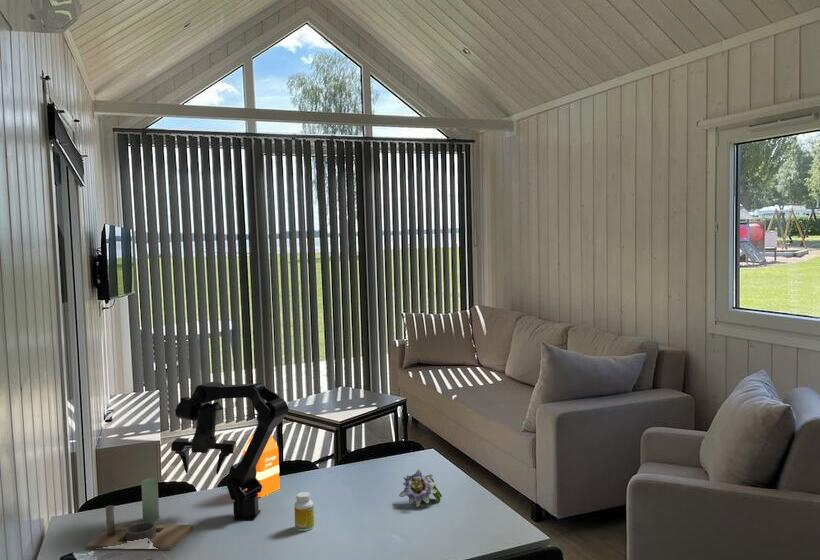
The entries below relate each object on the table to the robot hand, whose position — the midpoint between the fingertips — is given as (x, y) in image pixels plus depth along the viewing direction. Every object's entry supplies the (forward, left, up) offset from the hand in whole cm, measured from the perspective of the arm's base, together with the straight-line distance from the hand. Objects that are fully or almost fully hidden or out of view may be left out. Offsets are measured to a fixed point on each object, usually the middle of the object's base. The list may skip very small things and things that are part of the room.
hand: (202, 473), depth 196 cm
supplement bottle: (-35, +11, -12) cm, 39 cm away
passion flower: (-67, -9, -12) cm, 69 cm away
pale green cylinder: (+14, +6, -12) cm, 19 cm away
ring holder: (+10, +19, -12) cm, 25 cm away
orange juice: (-13, -17, -12) cm, 24 cm away
